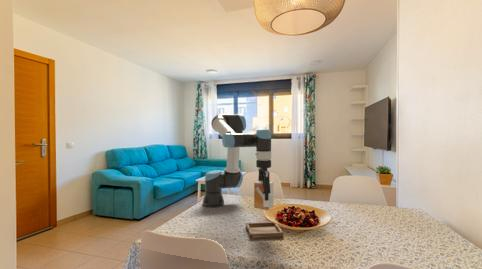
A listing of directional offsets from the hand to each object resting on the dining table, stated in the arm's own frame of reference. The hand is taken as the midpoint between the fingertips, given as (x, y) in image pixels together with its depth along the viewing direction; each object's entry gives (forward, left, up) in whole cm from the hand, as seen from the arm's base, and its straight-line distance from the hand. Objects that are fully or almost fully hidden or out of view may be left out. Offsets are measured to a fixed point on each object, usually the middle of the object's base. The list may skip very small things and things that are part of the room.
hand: (263, 203), depth 118 cm
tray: (0, 0, -15) cm, 15 cm away
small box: (0, 0, -2) cm, 2 cm away
